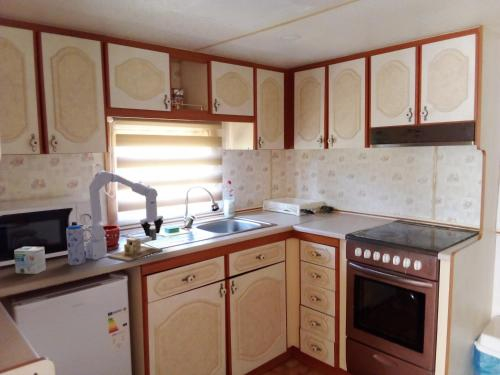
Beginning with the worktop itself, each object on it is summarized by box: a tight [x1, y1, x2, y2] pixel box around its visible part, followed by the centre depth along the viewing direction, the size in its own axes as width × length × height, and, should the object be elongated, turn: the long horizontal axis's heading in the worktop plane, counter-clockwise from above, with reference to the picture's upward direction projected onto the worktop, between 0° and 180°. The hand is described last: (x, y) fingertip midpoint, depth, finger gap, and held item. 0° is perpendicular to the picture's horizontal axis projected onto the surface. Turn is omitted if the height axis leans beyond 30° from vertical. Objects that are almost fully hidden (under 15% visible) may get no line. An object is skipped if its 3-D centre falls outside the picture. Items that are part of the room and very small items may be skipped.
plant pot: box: [103, 224, 121, 251], centre depth 215 cm, size 13×13×12 cm
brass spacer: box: [123, 243, 134, 255], centre depth 200 cm, size 2×5×5 cm, turn 57°
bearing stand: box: [107, 236, 163, 263], centre depth 203 cm, size 22×16×8 cm
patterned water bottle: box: [65, 221, 87, 266], centre depth 191 cm, size 8×8×20 cm
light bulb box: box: [13, 246, 47, 275], centre depth 179 cm, size 11×7×11 cm, turn 81°
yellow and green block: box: [140, 227, 158, 245], centre depth 208 cm, size 14×3×6 cm, turn 147°
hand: (152, 234), depth 213 cm, fingers open, 7 cm apart
